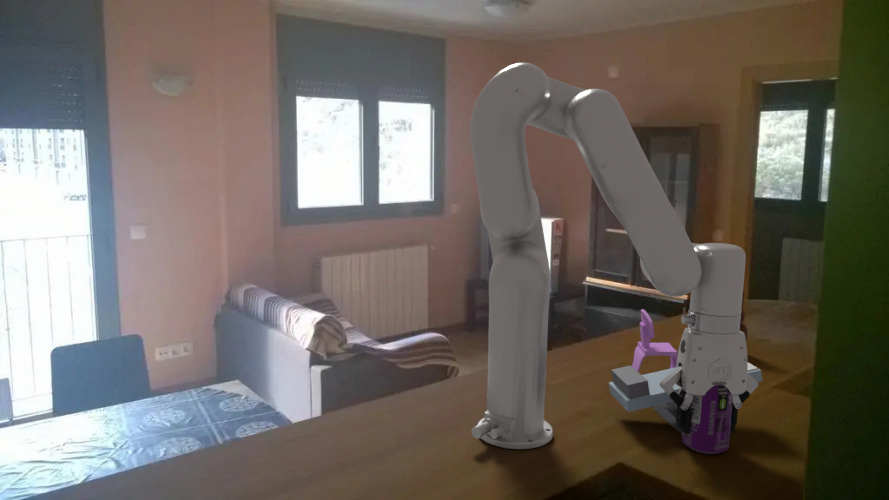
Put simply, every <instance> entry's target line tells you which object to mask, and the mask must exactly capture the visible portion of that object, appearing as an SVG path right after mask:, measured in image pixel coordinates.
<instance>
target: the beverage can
mask: <svg viewBox="0 0 889 500" xmlns="http://www.w3.org/2000/svg"><path fill="white" fill-rule="evenodd" d="M726 384H727V382H719V383H717V382H715V383H712V385H715V386H713V387H711V388H710V389H709V390H708V391H707V392H706V393H705V395H704V396H693V400H692V402H691V404H690V406H689V409H690V410H691V412H692V413H691V426H690V433H689V434H685V433H682V435H681V442H682V443H683V444H684V445H685V446H686V447H688V448H690V449H691V450H692V451H695V452H697V453H699V454H700V453H701V454H705V455H716V454H719V453H723V452H726V451H727V450H729V448H730V440H731V439H730V438H731V437H730V436H731V433H730V427H731V415H732V403H733V396H732V395H731V392H730V391H729V389H728V388H727V387H725V386H724V385H726Z"/></svg>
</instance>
